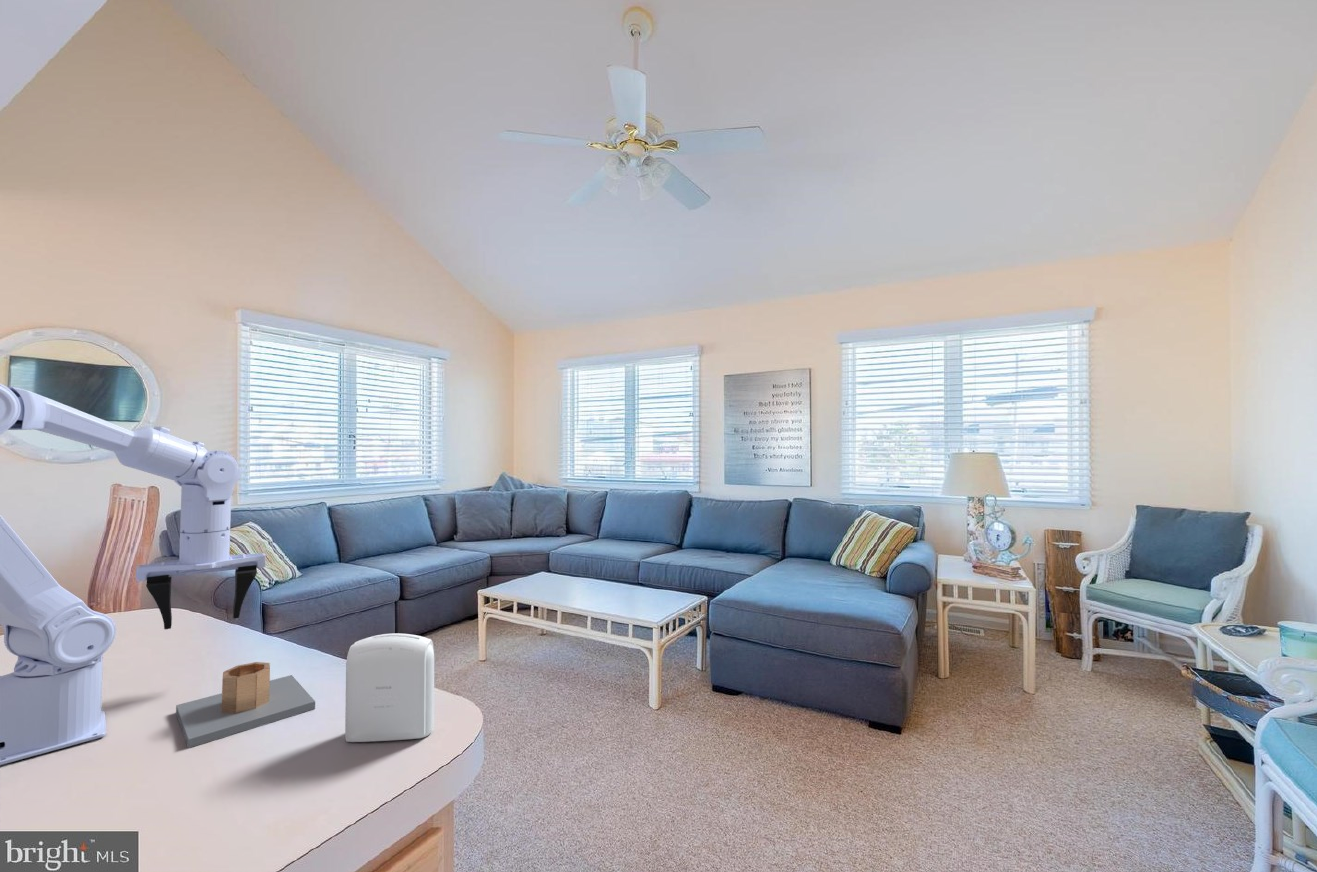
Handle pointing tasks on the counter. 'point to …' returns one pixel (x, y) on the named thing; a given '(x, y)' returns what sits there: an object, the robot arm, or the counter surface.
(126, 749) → the counter surface
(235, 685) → the octagonal cardboard bin
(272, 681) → the plate
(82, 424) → the robot arm
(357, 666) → the photo printer
